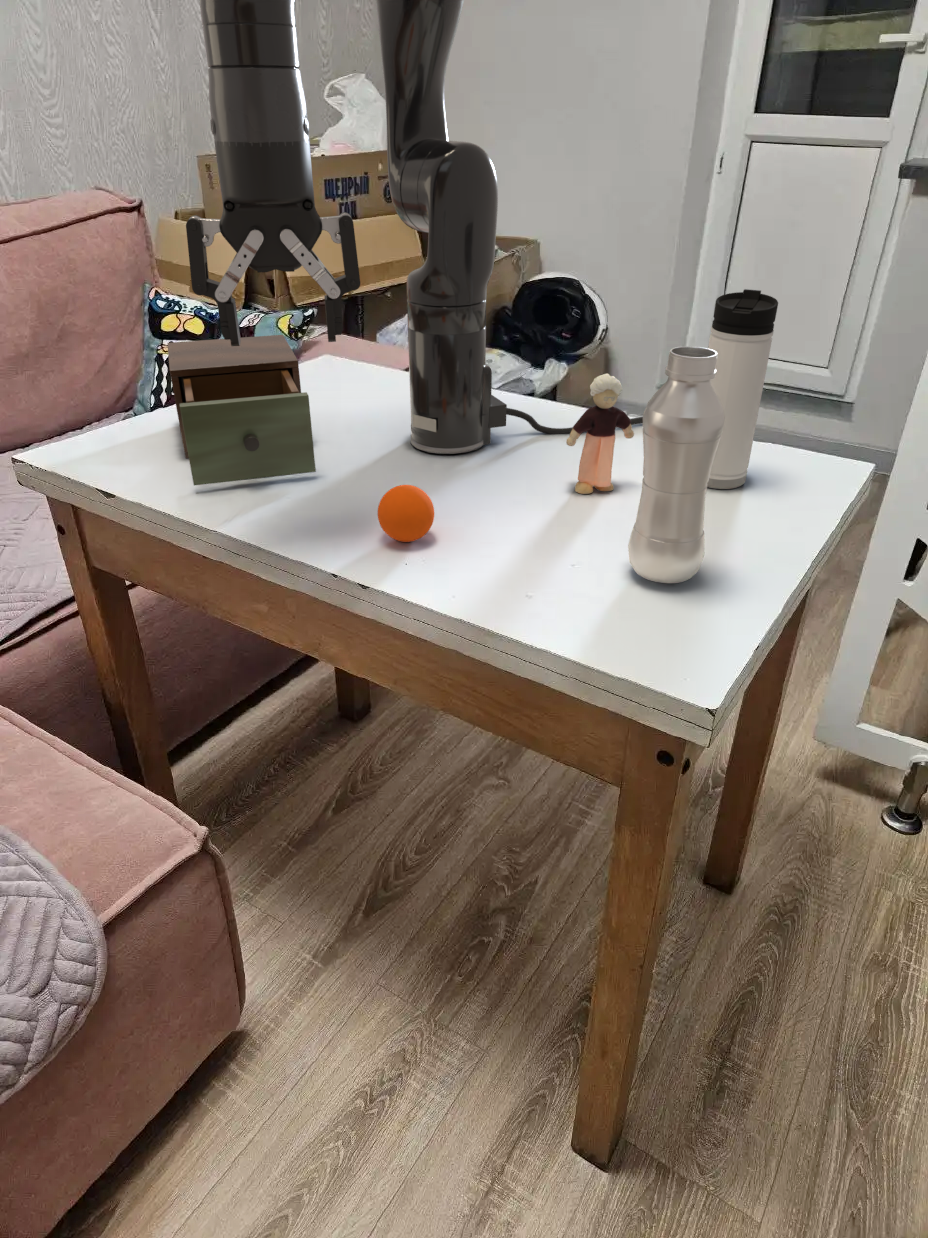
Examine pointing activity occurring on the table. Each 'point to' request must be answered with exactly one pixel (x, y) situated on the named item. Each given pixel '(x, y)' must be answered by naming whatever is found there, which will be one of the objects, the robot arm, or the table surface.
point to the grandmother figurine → (599, 435)
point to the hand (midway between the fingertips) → (284, 342)
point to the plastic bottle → (677, 468)
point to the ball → (406, 513)
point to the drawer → (246, 426)
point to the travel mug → (739, 377)
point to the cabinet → (227, 361)
